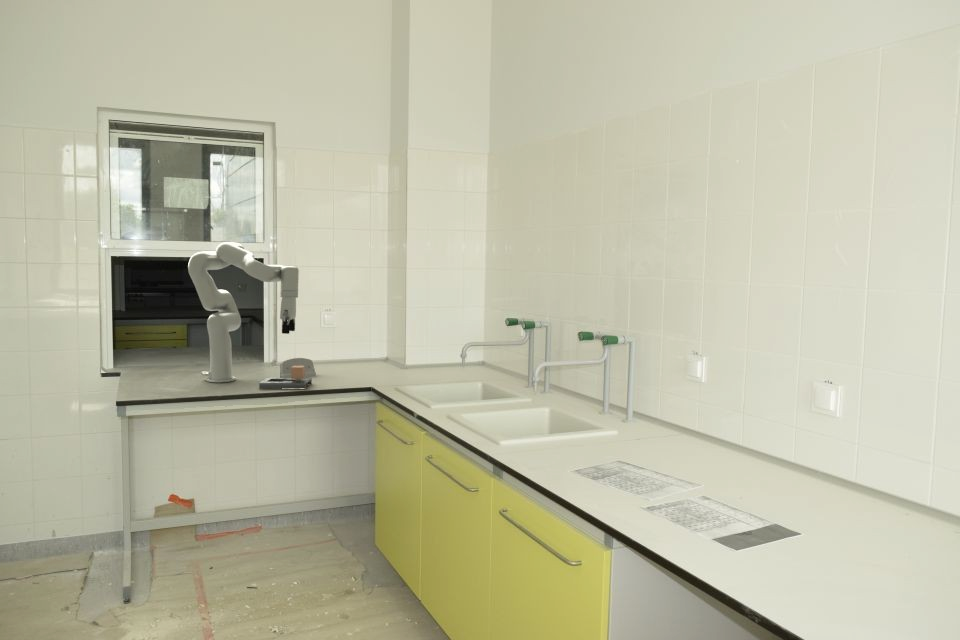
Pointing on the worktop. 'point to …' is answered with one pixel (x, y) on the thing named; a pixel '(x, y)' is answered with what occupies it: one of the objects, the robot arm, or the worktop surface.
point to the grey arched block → (286, 365)
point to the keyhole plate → (284, 383)
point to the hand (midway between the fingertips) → (288, 332)
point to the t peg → (297, 372)
